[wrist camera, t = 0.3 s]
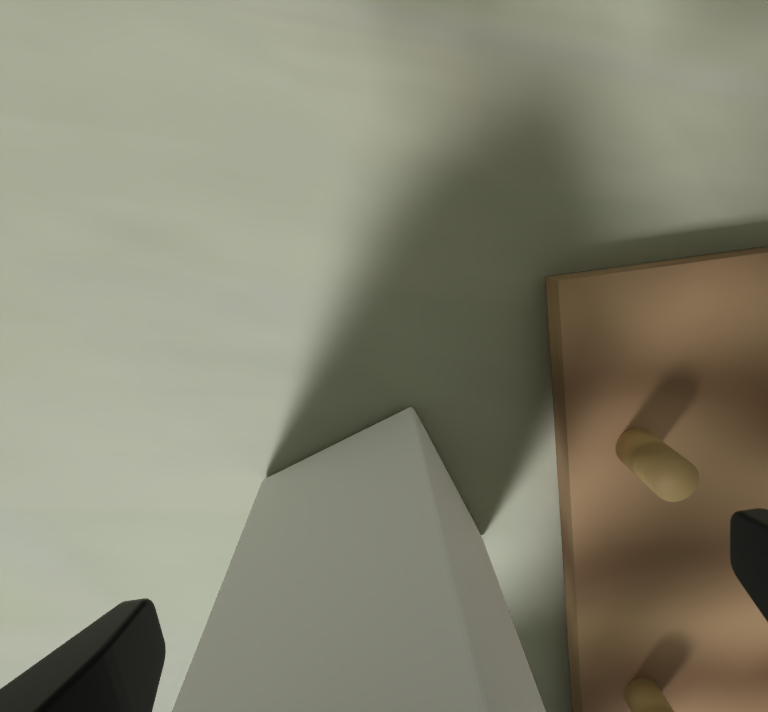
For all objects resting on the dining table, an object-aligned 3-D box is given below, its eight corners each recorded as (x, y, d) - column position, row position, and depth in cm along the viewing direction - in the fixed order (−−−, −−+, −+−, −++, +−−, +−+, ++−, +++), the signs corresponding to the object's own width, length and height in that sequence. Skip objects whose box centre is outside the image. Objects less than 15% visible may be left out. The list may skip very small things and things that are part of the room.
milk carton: (411, 403, 23) (598, 1136, 5) (483, 538, 25) (832, 1480, 6) (261, 477, 24) (-103, 1390, 5) (341, 605, 25) (277, 1647, 7)
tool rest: (812, 756, 28) (893, 855, 24) (576, 788, 28) (615, 892, 24) (847, 235, 22) (967, 239, 18) (545, 276, 22) (590, 291, 18)
